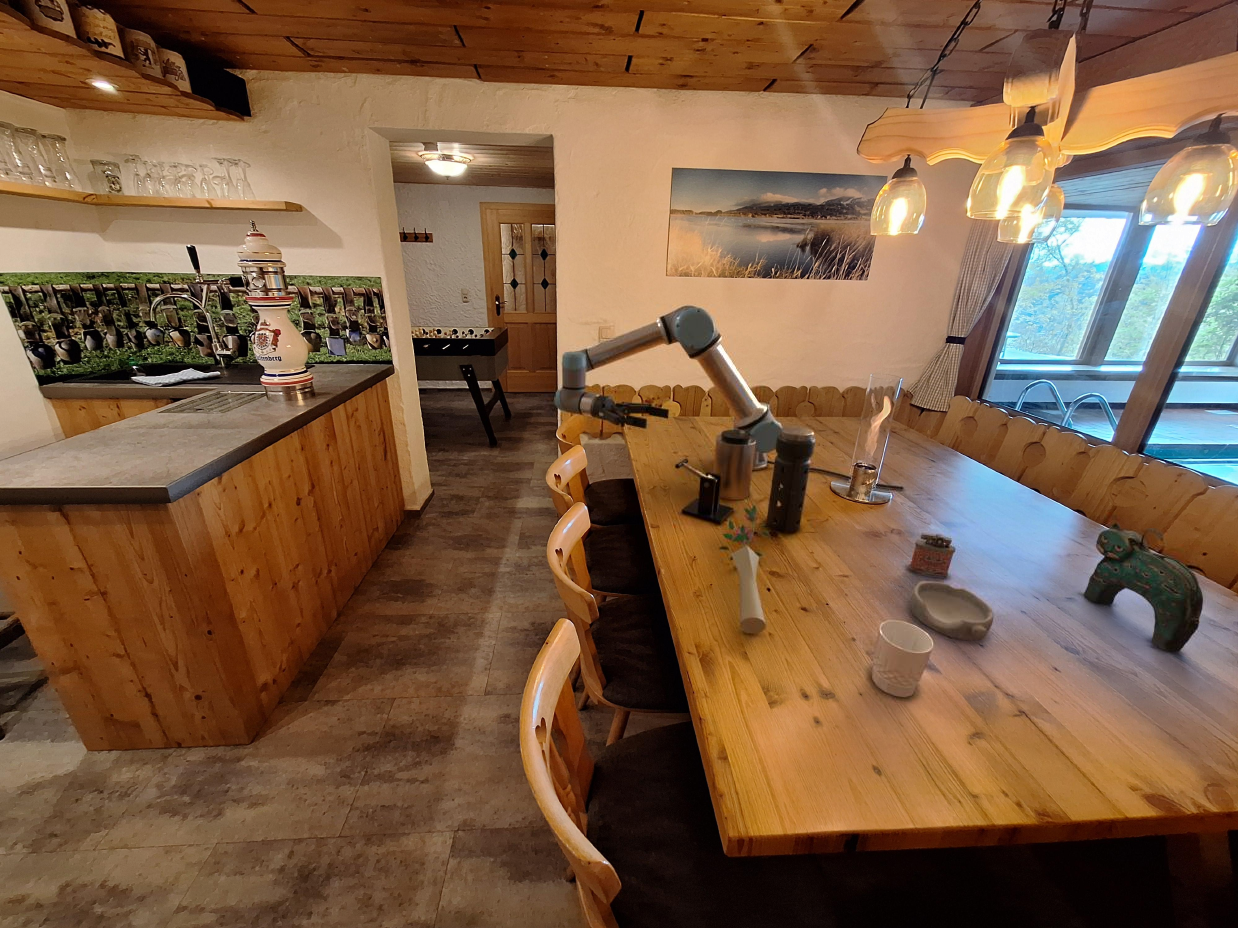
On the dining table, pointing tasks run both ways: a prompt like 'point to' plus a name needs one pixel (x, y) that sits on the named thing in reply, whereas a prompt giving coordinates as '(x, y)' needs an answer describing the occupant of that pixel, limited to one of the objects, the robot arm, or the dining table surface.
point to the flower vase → (747, 575)
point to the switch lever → (691, 468)
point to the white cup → (900, 657)
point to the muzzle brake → (790, 478)
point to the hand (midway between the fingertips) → (657, 418)
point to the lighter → (932, 556)
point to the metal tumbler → (734, 463)
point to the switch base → (709, 501)
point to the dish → (951, 610)
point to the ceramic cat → (1148, 584)
